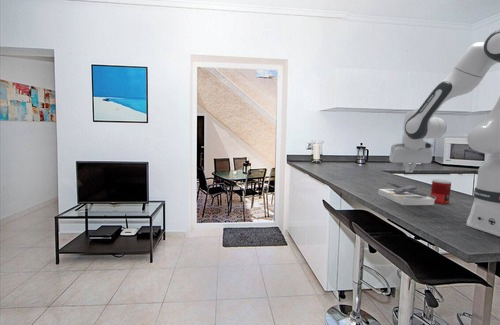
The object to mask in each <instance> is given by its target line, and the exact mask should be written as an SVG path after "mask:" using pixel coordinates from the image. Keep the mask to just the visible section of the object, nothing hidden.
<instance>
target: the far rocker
mask: <svg viewBox="0 0 500 325" xmlns="http://www.w3.org/2000/svg"><path fill="white" fill-rule="evenodd" d="M386 184H387V186H388V185H389V186H392V187H394V188H395V189H398V188H401V187H402V186H400V185H398V184H395V183H392V182H389V181H386Z"/></svg>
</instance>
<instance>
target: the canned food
mask: <svg viewBox="0 0 500 325" xmlns="http://www.w3.org/2000/svg"><path fill="white" fill-rule="evenodd" d="M451 188H452V181H450V180H446V179H432V181H431V189H430V190H431V192H430V198H433V199H435V200H434V204H439V205H448V204H449V203H450V197H451Z"/></svg>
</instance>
